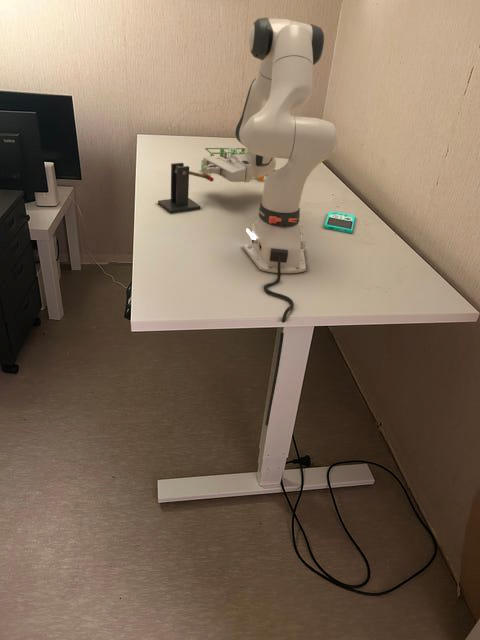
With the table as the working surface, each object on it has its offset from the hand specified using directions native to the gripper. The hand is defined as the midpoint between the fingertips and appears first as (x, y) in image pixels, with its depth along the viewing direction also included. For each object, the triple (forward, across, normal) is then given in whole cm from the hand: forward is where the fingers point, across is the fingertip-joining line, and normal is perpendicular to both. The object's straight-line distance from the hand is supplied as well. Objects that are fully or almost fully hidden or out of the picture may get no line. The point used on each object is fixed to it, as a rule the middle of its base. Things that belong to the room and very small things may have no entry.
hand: (205, 169), depth 165 cm
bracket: (+10, 0, +12) cm, 16 cm away
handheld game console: (-38, +34, +13) cm, 52 cm away
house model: (-34, -34, +12) cm, 50 cm away
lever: (+5, 0, +2) cm, 5 cm away
